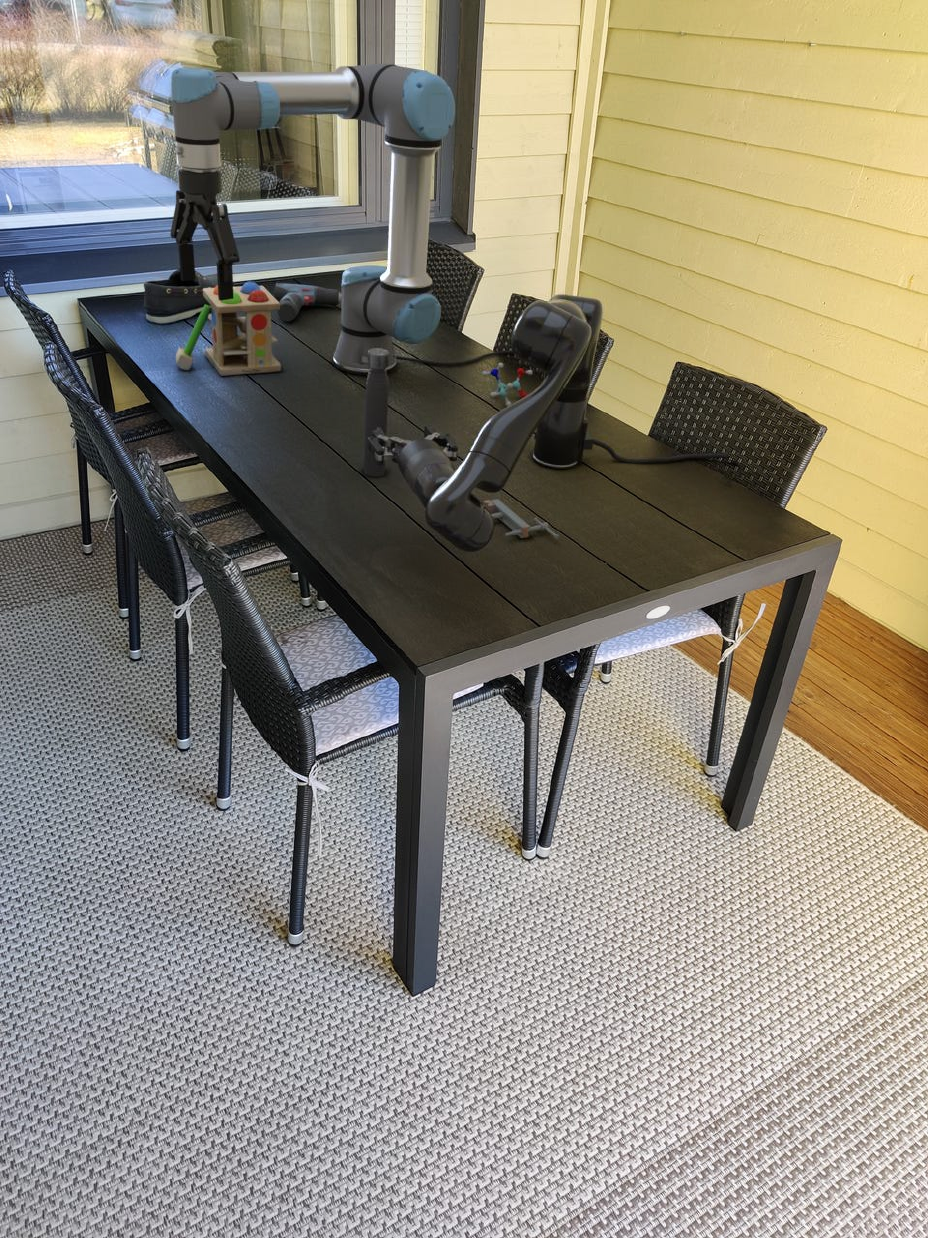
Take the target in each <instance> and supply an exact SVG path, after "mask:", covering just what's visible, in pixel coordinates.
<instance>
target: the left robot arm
mask: <svg viewBox="0 0 928 1238" xmlns="http://www.w3.org/2000/svg"><path fill="white" fill-rule="evenodd" d="M170 77H171V80H170V81H171V82H170V91H171V92H170V93H171V94H170V100H171V102H172V116H173V125H174V126H173V128H174V140H175V149H174V152H175V154H176V164H177V165H178V166H179V168H178V169H177V182H178V184H177V185H178V189H176V191H175V206H174V212H173V217H172V223H171V227H170V238H172V239H175V243H176V244H177V246H178V258H179V269H180V273H181V281H189V280H196V278H195V271H196V267H195V266H196V265H195V251H194V244H193V243H194V239H193V237H194V234H195V232H196V230H197V228H198V225H200V226H201V228H202V229H203V230H204V231H206V233H207V235H208V238H209V240H210V243H211V245H212V247H213V250H214V253H215V255H216V257H217V259H218V260H217V262H215V264H216V274H217V280H218V297H219V300H220V301H222V300H228V299H234V298H233V283H234V275H233V274H234V272H233V271H234V270H233V264H235V263H239V262H240V259H241V258H240V254H239V251H238V248H237V244H236V241H235V237H234V234H233V230H232V226H231V222H230V218H229V210H228V205H227V204H226V203H222V204H221V203H219V204H218V202H217V195H219V194H221V193H222V191H223V185H222V183H223V182H222V172H221V170H220V167H221V166H222V161H221V145H220V131H237V130H238V131H239V130H240V131H241V130H242V131H243V130H246V131H247V130H257V131H260V130H264V129H271V128H274V127H275V126H276V125H277V124H278V122H279V120H280V117H281V116H318V115H319V116H320V115H321V116H322V115H337V117H339V118H340V119H342V120H356V121H362V122H366V123H370V124H373V125H377V126H380V127H383V128H384V144H385V145H386V146H387V148H389V150H390V152H391V159H390V160H391V161H390V162H391V163H390V187H389V189H390V190H389V211H388V213H389V215H388V217H389V218H388V243H387V266H386V265H374V264H372V265H371V264H370V265H369V264H368V265H357V266H356V265H355V266H351V267H348V268H346V269H345V270H344V271H343V273H342V277H341V278H342V279H341V285H340V288H341V294H342V302H341V316H340V317H341V319H340V321H341V324H340V325H341V326H340V329H341V330H340V336H339V338H338V341H337V344H336V348H335V350H334V352H333V361H332V362H333V363H332V364H333V366H334V367H335V368H337V369H338V370H339V371H342V372H344V373H347V374H352V375H356V376H368V375H369V372H370V369H371V368H370V367H369V366H368V350H370V349H373V348H381V349H385V350H388V351H389V366H388V368H386V369H385V370H386V373H387V374H389V373H391V372H393V371H395V369H396V368H397V361H398V360H399V361H406V362H414V363H420V364H427V365H432V366H460V365H466V364H471V363H475V362H478V361H481V360H483V359H485V358H488V357H493V356H499V355H504V354H505V355H506V354H514V353H513V351H512V349H511V350H508V349H507V350H499V351H493V352H489V353H485V354H482V355H479V356H476V357H474V358H471V359H466V360H461V361H433V360H427V359H420V358H414V357H413V358H412V357H406V356H399V355H397V354H396V352H395V347H394V343H393V341H392V338H393V339H395V340H396V341H399V342H400V343H401V342H402V343H406V344H409V345H418V344H421V343H423V342H425V341H427V340H428V339H429V338H430V337H431V336H432V334H433V333H434V332H435V331H436V329H437V328H438V327H439V324H440V320H441V317H442V316H441V315H442V309H441V308H442V307H441V303H440V302H439V301H438V299H437V297H436V296H434V294H432V293H433V279H432V278H431V277H430V275H429V274H428V273H427V263H428V260H427V259H428V245H429V231H430V230H429V228H430V212H431V197H432V183H433V182H432V179H433V165H434V164H433V163H434V155H435V154H436V153H437V152H438V151H439V150H440V149H441V147H442V140H443V138H445V137H446V136H447V135H448V133H450V130H449V129H451V128H452V127H453V125H454V121H455V116H456V104H455V103H456V102H455V97H454V94H453V92H452V89H451V87H450V86H449V85H448V83H447V82H446V81H445V79H444V78H442V77H441V76H440V75H438V74H435V73H431V72H429V71H428V70H424V69H419V68H418V69H417V68H413V67H406V66H401V65H397V64H394V63H375V64H374V63H373V64H363V65H349V66H348V65H342V66H338V67H337V68H336V69H335V70H334V71H230V72H229V71H213V70H211V69H207V68H201V67H200V68H199V67H186V66H185V67H177V68H175V69H173V71H172V73H171V76H170Z"/></svg>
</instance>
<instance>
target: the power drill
mask: <svg viewBox="0 0 928 1238" xmlns="http://www.w3.org/2000/svg"><path fill="white" fill-rule="evenodd" d="M274 298H275V299H276V300H277V301H278V302H279V303H280V310H277V315H278V318H279V319H280V320H281V321H284V322H292V321H293V320H295V318H296V317H297V316H298V314H299V312H300V310H301V309H302V307H303V306H306V307H309V306H312V307H313V306H338V305H339V304H342V292H340V291H339V290H338V289H335V288H334V289H332V288H325V287H321V286H316V285H307V284H297V283H281V282H276V283H275V285H274Z"/></svg>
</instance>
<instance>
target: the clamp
mask: <svg viewBox="0 0 928 1238" xmlns="http://www.w3.org/2000/svg"><path fill="white" fill-rule="evenodd" d="M482 504H483V505H484V506H485V507H486V508H487V509H488V510H489V512H490V513H491V515H492V517H493V520H497V519H498V520H500V521H501V522H502V523H503V524H504V525H506V526H507V527H508V528H509V529H510V530H511V531H509V532H505V533H504V536H505V537H509V536H518V537H519V538H521V539H525V538H529V535H530V534H529V533H531V532H535V531H546V532H547V533H548V534H550V535H552V536H553V537H554V540H559V538H560V534H558V533H557V534H556V533H555V532H554V531H553V530H552V529H550V528H549V527H550V525H549V523H548V522H542V521H540V520H539V518H538V517H537V516H536V517H534V518H533V520H532V521H533V523H537V524H538V525H534V526H531V525H529V524H528V523H527V522H526V521H525V520H523V519H522V517H520V516H519V515H518V514H516V513H515V512H514V511H512V509H510V508H509V507H508V506H507V505H506V504H504V502H502V501H501V500H500V499H499V498H497V499H492V500H490V499H488V500H484V501H483V503H482Z"/></svg>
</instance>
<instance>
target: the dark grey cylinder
mask: <svg viewBox="0 0 928 1238" xmlns="http://www.w3.org/2000/svg"><path fill="white" fill-rule="evenodd" d="M389 384H390V383H389V377H388V373H386V370H385V369H373V368H371V369H370V372H369V375H367V378H366V384H365V417H364V419H365V420H364V451H363V452H364V453H363V454H364V456H363V473H364V474H365V475H367V476H368V477H372V478H378V477H382V476H384V475H385V473H386V460H384V464H383V465H377V464H376V463H375V462H374V460H373V459H372V458H371V456H370V455H369V453H368V437H373V431H374V430H376V427H381V429H382V431H383V432H384V434H385V436H388V435H387V433H388V432H387V431H388V412H389V411H388V410H389V407H388V405H389V386H390V385H389ZM385 447H386V448H387V443H386V442H385Z"/></svg>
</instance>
